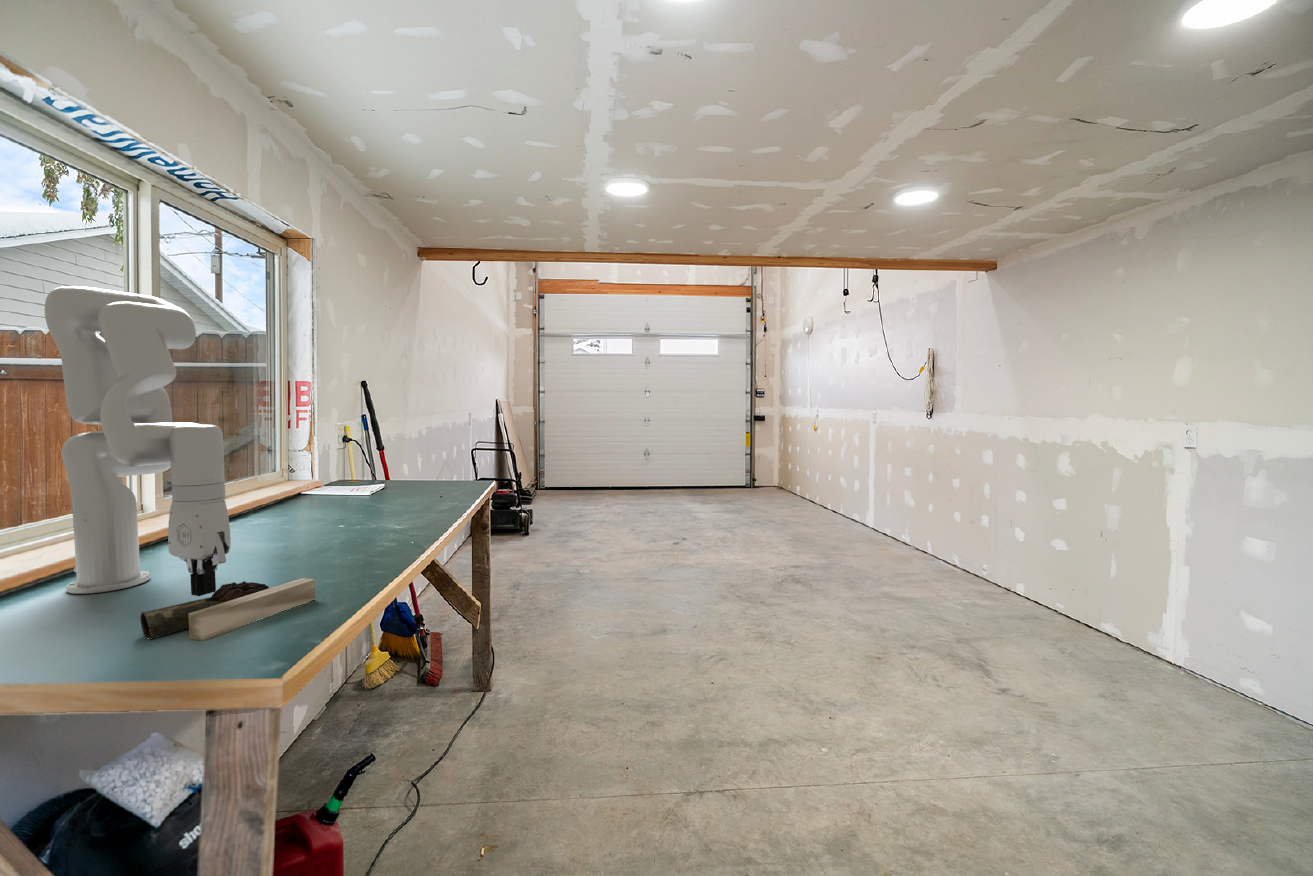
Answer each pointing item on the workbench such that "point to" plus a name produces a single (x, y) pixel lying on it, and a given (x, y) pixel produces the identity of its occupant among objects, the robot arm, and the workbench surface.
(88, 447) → the robot arm
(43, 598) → the workbench surface
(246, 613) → the bar
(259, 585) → the brown long lumpy piece
